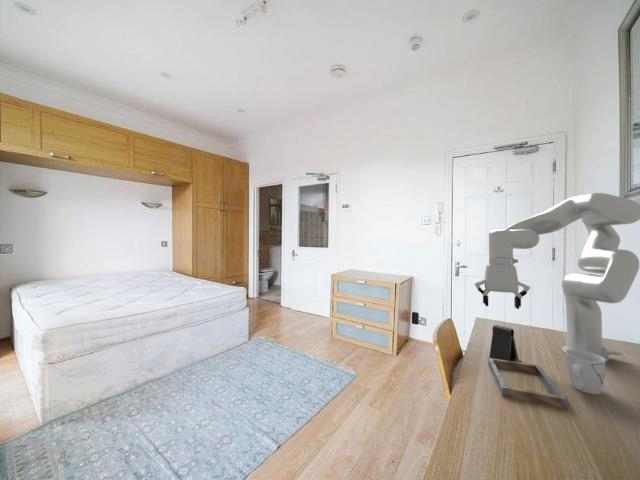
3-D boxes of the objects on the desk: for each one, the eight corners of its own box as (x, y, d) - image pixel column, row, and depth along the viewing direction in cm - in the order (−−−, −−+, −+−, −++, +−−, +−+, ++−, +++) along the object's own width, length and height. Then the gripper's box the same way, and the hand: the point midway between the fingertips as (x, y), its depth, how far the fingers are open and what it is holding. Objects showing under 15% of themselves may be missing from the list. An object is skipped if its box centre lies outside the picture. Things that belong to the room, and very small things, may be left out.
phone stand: (507, 365, 91) (506, 331, 91) (489, 358, 96) (488, 327, 96) (518, 358, 96) (517, 327, 96) (500, 352, 101) (499, 322, 101)
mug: (596, 403, 69) (595, 367, 69) (556, 388, 76) (555, 355, 76) (611, 391, 74) (610, 357, 74) (572, 378, 82) (571, 347, 82)
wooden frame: (538, 372, 85) (538, 365, 85) (567, 408, 67) (567, 399, 67) (488, 364, 91) (488, 357, 91) (502, 396, 73) (502, 387, 73)
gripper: (525, 262, 96) (526, 306, 96) (473, 260, 103) (473, 302, 103) (532, 263, 89) (533, 311, 89) (476, 262, 97) (476, 306, 96)
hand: (501, 306), depth 96 cm, fingers open, 9 cm apart
